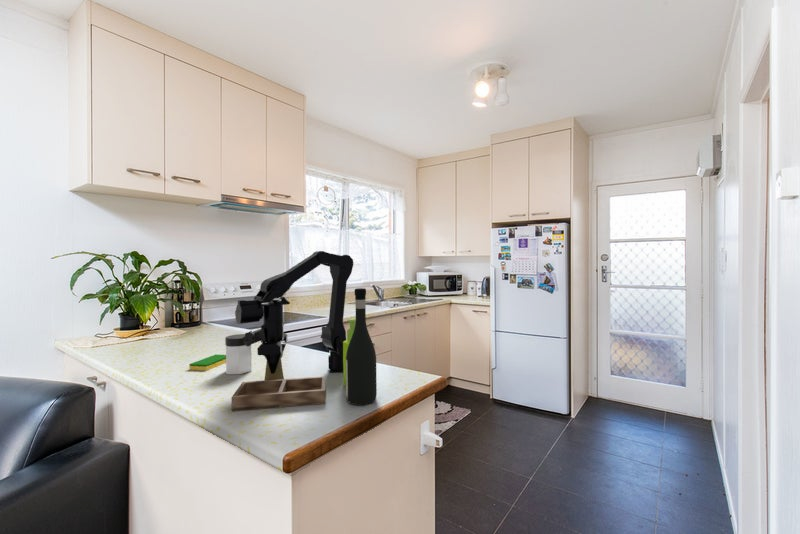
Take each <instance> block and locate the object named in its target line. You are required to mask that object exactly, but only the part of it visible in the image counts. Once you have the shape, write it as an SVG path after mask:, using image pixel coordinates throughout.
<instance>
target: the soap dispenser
mask: <svg viewBox="0 0 800 534" xmlns="http://www.w3.org/2000/svg"><path fill="white" fill-rule="evenodd" d="M347 322H349V328H348V329H347V330H346V340H345V341H343V372H342V373H343V386H344V387H345V386H346V354H347V349H348V346H349V343H350V340H351V338H352V335H353V332H354V329H355V323H356V317H350V318H348V319H347Z"/></svg>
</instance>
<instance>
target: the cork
mask: <svg viewBox="0 0 800 534" xmlns="http://www.w3.org/2000/svg"><path fill="white" fill-rule="evenodd" d="M283 355H284V351H283V352H282V354H281V357H280V360H279V363H278V366H277V369H276V371H275V373H274V374H271V372H270V368H269V365H268V361H267V358H266V357H265V356H264V359H265V360H266V366H265V372H264V380H279V379H285V377H284V372H283V371H284V369H283V364H282V358H283Z"/></svg>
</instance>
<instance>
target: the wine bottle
mask: <svg viewBox="0 0 800 534" xmlns="http://www.w3.org/2000/svg"><path fill="white" fill-rule="evenodd" d="M354 296H355V299H354V300H355V301H354V302H355V304H354V306H355V318H356V321H355V329H354V332H353V335H352V338H351V340H350V343H349V346H348V349H347V354H346V387H345V389H346V390H345V392H346V393H345V395H346V400H347V402H348V403H349V404H352V405H354V406H355V405H356V406H364V405H365V406H366V405H369V404H372V403H373V402H374V401H375V400H376V399H377V394H378V393H377V391H378V390H377V389H378V388H377V386H378V385H377V384H378V383H377V355H376V349H375V346H374V345H375V344H374V343H373V340H372V338H371V335H370V333H369V330H368V326H367V320H366V319H367V315H366V300H367V299H366V296H367V288H365V287H362V288H361V287H360V288H358V287H357V288H355V289H354Z"/></svg>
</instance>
